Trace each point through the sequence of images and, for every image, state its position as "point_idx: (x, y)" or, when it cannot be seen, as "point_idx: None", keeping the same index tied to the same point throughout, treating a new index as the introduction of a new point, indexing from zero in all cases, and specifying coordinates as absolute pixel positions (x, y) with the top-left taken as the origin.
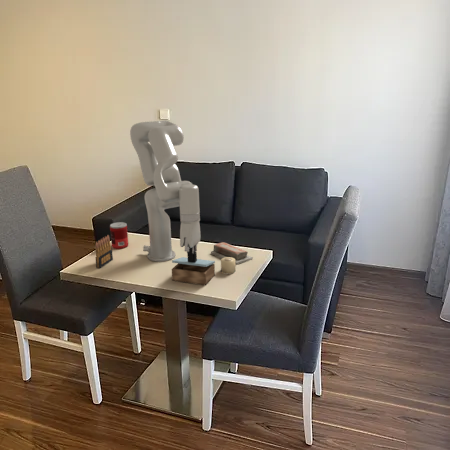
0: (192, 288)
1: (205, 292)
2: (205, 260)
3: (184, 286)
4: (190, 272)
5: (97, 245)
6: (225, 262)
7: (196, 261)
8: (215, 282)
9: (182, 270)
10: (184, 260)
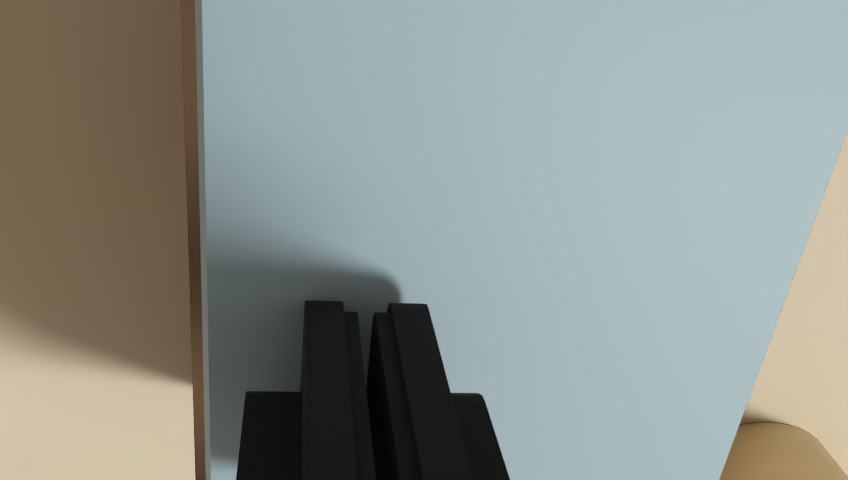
0: (47, 258)
1: (4, 453)
2: (683, 457)
3: (62, 112)
4: (193, 276)
5: None
6: None
7: (486, 404)
8: None
9: (187, 99)
10: (469, 123)
